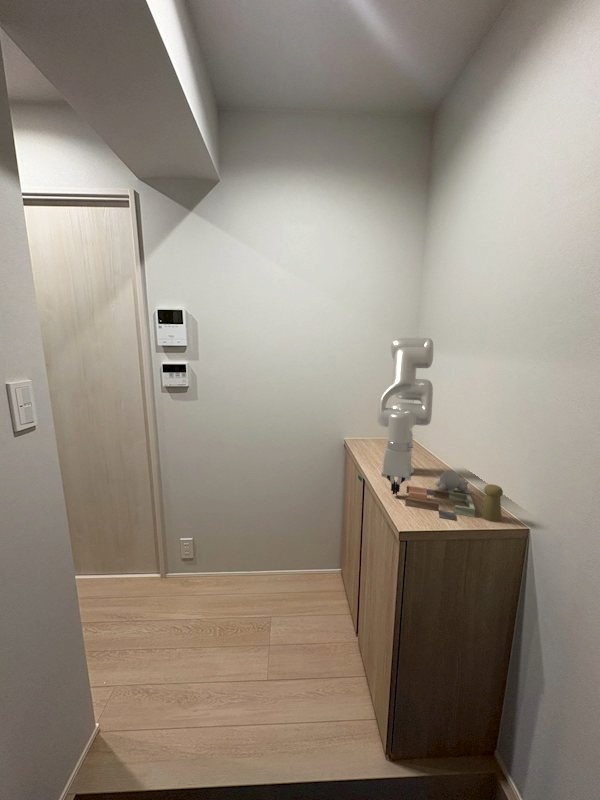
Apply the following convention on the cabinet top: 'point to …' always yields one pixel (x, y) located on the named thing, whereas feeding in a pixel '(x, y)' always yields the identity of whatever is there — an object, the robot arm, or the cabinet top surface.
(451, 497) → the trap lane
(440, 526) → the cabinet top surface
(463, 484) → the toy rhinoceros
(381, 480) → the cabinet top surface
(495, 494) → the cork
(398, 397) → the robot arm
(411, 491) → the salmon block
